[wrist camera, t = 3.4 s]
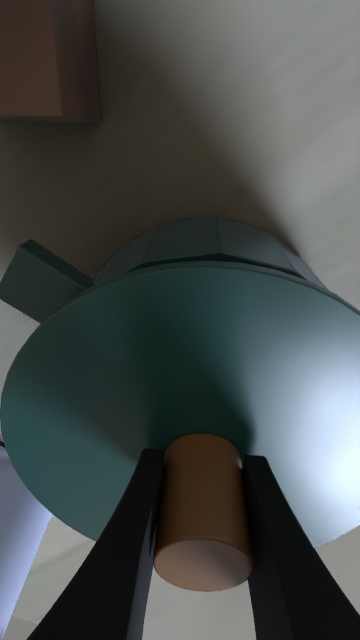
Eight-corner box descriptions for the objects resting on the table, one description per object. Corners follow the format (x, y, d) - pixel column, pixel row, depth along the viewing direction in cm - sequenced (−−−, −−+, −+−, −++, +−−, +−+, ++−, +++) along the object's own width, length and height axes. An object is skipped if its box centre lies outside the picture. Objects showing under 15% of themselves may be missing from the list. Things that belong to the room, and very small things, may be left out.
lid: (223, 573, 17) (231, 702, 13) (-39, 450, 14) (-135, 574, 10) (489, 416, 11) (639, 559, 7) (155, 138, 8) (113, 137, 4)
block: (102, 123, 14) (62, 117, 10) (-5, 120, 14) (-84, 113, 10) (91, -24, 12) (36, -106, 8) (-34, -26, 12) (-148, -108, 8)
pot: (246, 464, 24) (260, 554, 19) (8, 324, 19) (-63, 391, 14) (404, 343, 19) (483, 423, 13) (127, 114, 14) (84, 98, 9)
